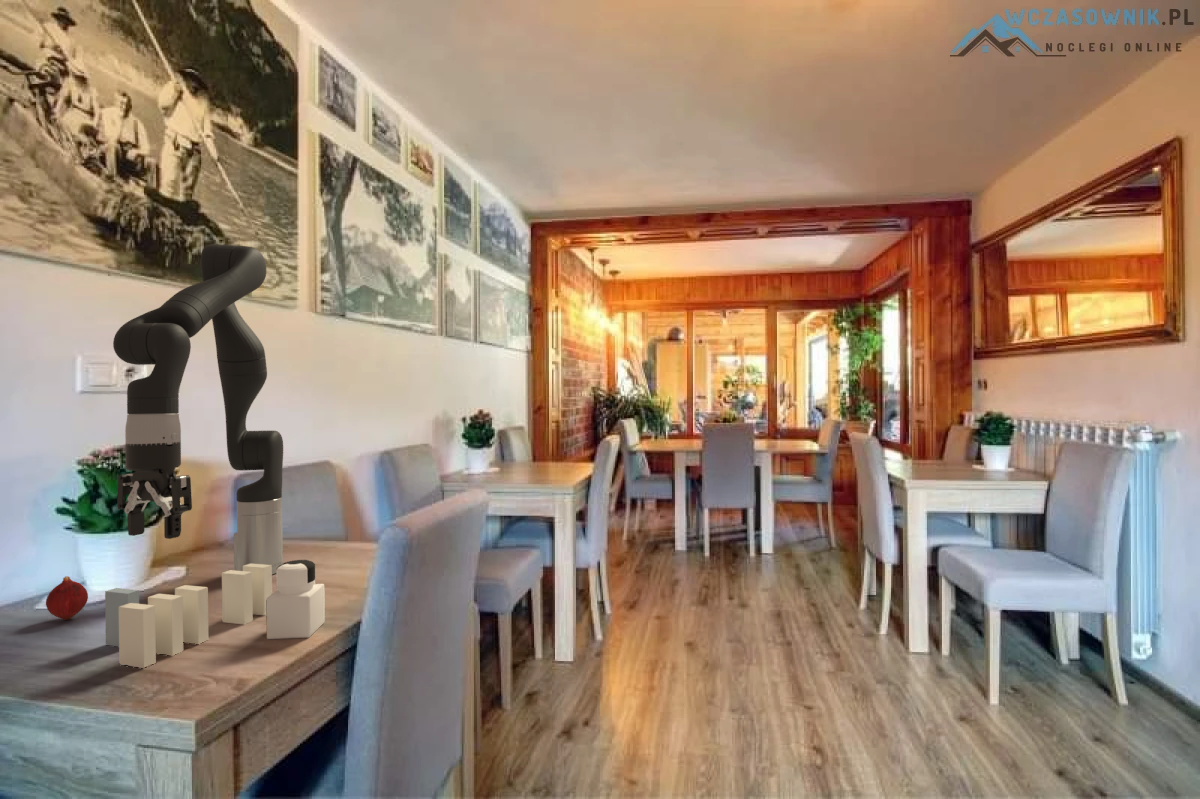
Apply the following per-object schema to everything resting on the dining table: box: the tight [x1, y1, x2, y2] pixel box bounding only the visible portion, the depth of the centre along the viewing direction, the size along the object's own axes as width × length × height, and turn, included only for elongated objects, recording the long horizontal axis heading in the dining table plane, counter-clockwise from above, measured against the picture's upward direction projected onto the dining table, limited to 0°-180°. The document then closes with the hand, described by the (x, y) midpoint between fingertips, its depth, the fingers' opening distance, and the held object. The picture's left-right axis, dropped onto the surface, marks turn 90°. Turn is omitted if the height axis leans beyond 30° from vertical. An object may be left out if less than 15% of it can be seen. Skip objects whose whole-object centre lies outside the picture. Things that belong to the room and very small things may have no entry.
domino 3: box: [147, 593, 184, 656], centre depth 96 cm, size 5×2×9 cm, turn 75°
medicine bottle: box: [265, 559, 326, 640], centre depth 104 cm, size 7×7×12 cm
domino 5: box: [221, 569, 254, 626], centre depth 109 cm, size 5×2×9 cm, turn 75°
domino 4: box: [174, 584, 210, 645], centre depth 100 cm, size 5×2×9 cm, turn 75°
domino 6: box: [243, 563, 273, 617], centre depth 113 cm, size 5×2×9 cm, turn 75°
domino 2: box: [118, 603, 157, 667], centre depth 91 cm, size 5×2×9 cm, turn 75°
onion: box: [45, 575, 89, 621], centre depth 110 cm, size 6×6×8 cm
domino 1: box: [104, 587, 140, 647], centre depth 99 cm, size 5×2×9 cm, turn 75°
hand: (154, 536), depth 101 cm, fingers open, 8 cm apart
